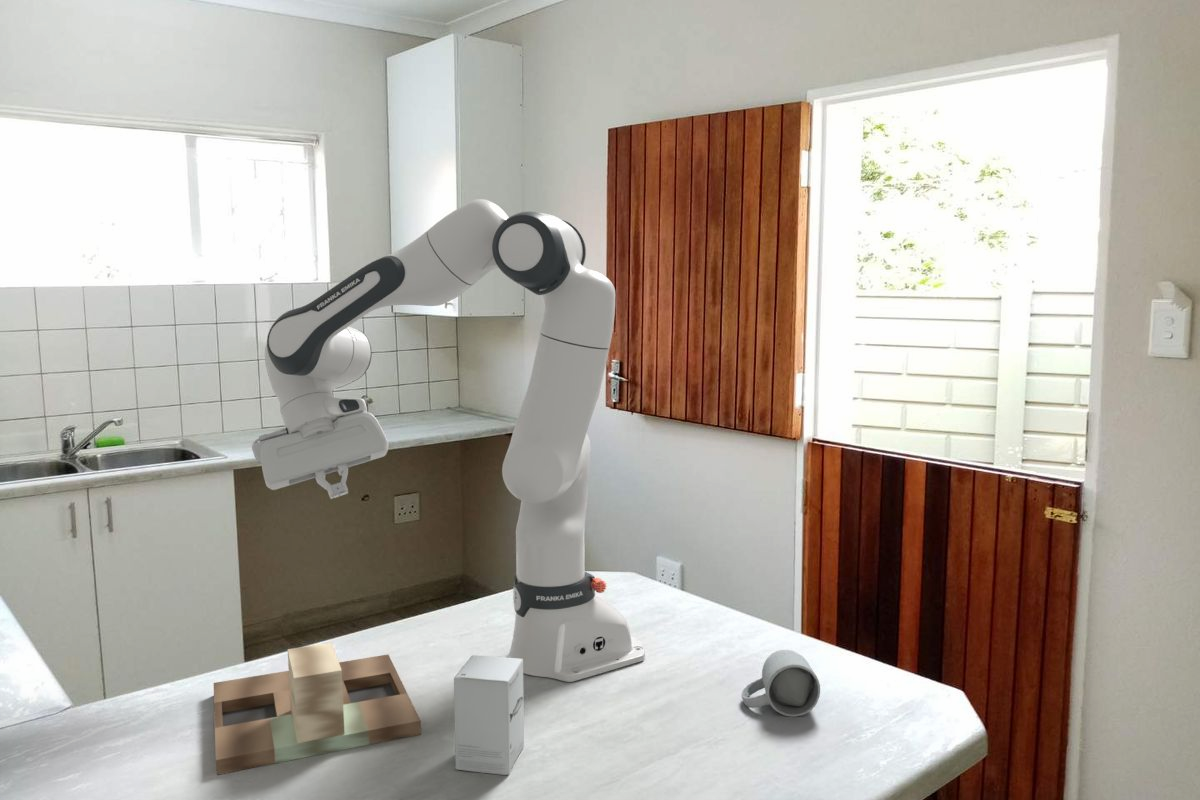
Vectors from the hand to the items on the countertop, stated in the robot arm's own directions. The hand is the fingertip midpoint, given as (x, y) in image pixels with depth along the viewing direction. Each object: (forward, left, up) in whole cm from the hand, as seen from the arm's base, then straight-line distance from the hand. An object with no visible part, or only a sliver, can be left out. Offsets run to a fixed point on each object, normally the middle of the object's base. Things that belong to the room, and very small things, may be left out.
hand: (339, 495), depth 149 cm
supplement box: (-13, +41, -27) cm, 51 cm away
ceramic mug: (-56, +43, -28) cm, 76 cm away
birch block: (+7, +26, -25) cm, 37 cm away
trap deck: (+7, +19, -27) cm, 34 cm away
